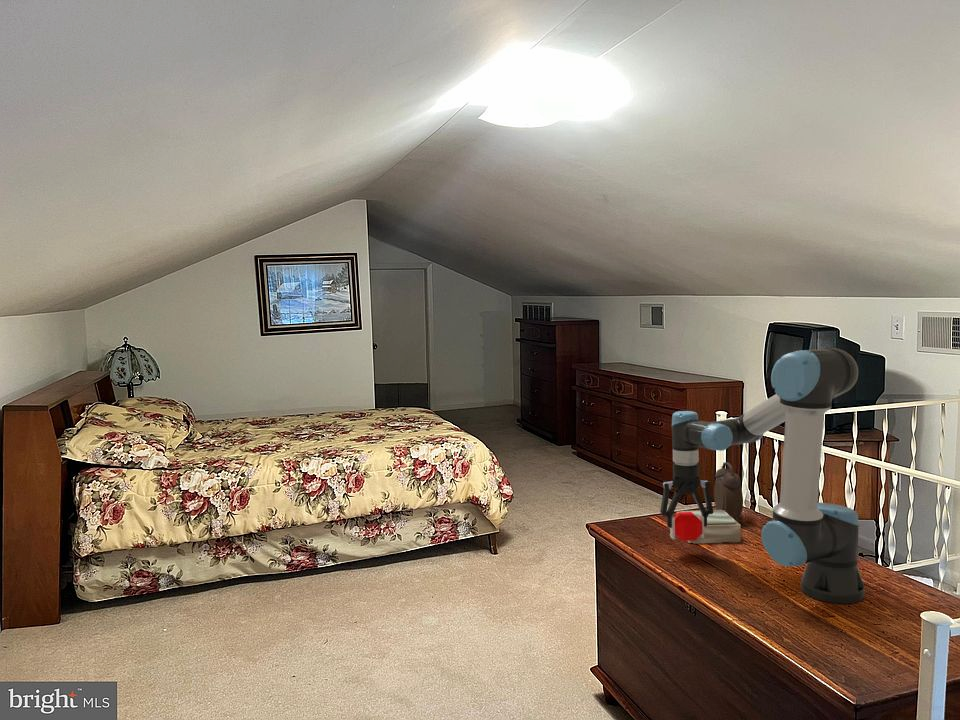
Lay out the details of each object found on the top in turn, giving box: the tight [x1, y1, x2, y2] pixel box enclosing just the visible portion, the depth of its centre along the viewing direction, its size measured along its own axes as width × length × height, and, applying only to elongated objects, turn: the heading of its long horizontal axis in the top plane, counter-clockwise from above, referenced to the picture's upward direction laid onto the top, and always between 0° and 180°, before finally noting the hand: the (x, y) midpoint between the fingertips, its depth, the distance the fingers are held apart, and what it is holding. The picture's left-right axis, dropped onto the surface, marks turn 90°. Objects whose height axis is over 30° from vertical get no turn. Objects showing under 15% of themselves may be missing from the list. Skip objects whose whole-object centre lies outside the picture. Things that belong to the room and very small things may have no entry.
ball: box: [673, 511, 702, 542], centre depth 222 cm, size 8×8×8 cm
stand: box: [675, 509, 742, 544], centre depth 241 cm, size 16×16×6 cm
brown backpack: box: [713, 461, 744, 523], centre depth 256 cm, size 15×7×20 cm, turn 179°
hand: (687, 537), depth 223 cm, fingers closed on ball, 8 cm apart
